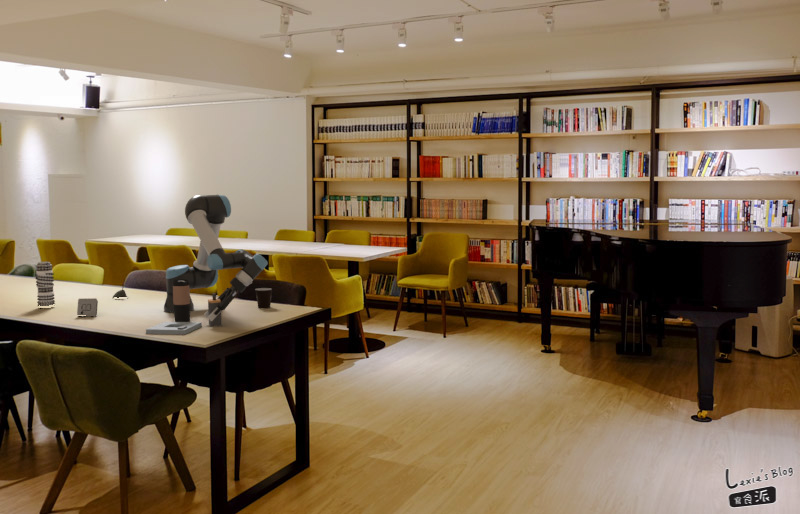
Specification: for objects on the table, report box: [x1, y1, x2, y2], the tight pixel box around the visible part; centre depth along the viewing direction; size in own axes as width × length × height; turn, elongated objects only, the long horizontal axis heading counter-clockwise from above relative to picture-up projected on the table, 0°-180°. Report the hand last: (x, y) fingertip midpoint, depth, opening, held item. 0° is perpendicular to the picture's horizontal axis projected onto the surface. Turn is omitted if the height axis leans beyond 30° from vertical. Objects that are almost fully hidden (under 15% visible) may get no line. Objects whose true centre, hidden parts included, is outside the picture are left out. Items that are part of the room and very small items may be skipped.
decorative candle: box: [34, 261, 56, 307], centre depth 385 cm, size 9×9×25 cm
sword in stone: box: [112, 278, 128, 298], centre depth 417 cm, size 10×8×12 cm
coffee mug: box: [255, 287, 273, 309], centre depth 380 cm, size 12×9×10 cm
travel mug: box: [173, 279, 191, 322], centre depth 341 cm, size 8×8×20 cm
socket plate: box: [145, 321, 202, 336], centre depth 321 cm, size 18×18×3 cm
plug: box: [207, 292, 223, 328], centre depth 331 cm, size 5×5×15 cm
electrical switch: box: [76, 297, 99, 317], centre depth 359 cm, size 9×5×9 cm, turn 90°
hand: (207, 318), depth 330 cm, fingers open, 8 cm apart
